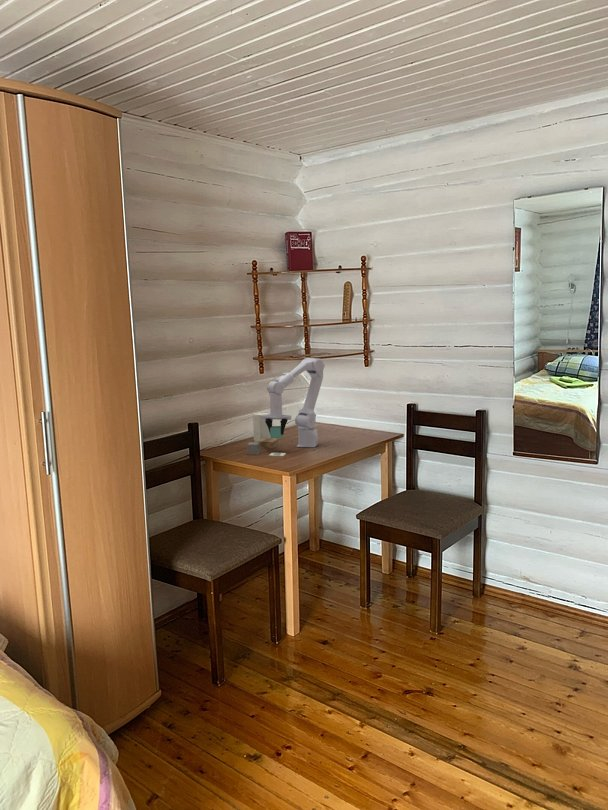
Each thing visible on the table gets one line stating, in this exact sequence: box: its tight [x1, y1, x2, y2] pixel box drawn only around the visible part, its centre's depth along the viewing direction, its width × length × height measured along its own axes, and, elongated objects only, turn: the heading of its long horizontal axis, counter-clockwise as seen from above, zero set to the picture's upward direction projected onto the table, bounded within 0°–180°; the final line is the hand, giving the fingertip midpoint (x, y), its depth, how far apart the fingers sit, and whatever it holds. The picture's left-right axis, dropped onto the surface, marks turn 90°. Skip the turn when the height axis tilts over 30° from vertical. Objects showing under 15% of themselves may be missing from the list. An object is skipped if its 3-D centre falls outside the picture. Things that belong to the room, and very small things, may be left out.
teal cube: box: [270, 425, 284, 439], centre depth 317 cm, size 5×5×5 cm
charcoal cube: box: [246, 441, 261, 456], centre depth 315 cm, size 5×5×5 cm
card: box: [268, 452, 287, 457], centre depth 311 cm, size 7×5×1 cm
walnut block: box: [257, 438, 279, 450], centre depth 328 cm, size 8×8×4 cm
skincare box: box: [252, 412, 270, 442], centre depth 340 cm, size 8×6×15 cm
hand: (276, 434), depth 317 cm, fingers closed on teal cube, 5 cm apart
